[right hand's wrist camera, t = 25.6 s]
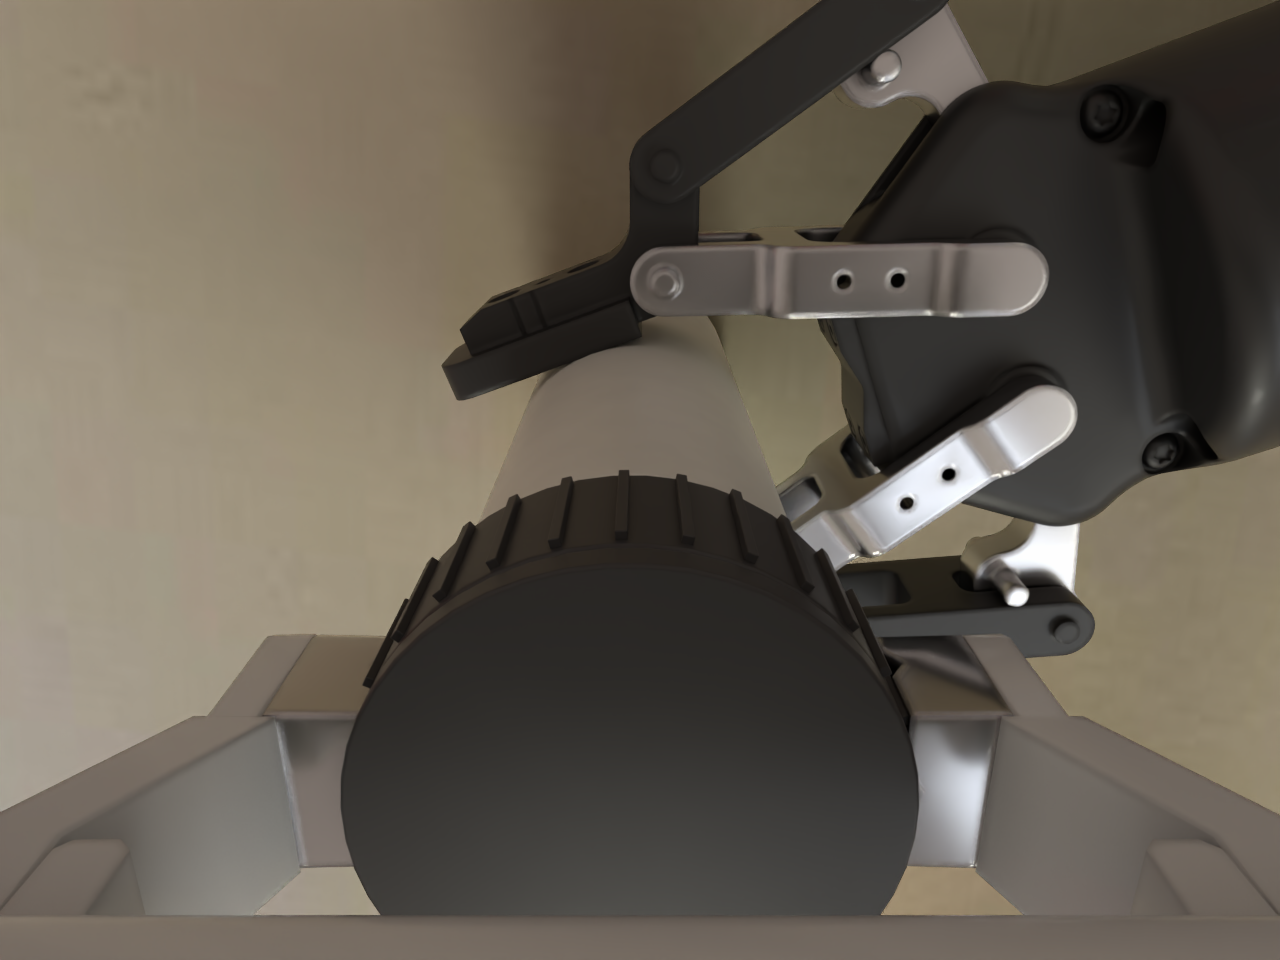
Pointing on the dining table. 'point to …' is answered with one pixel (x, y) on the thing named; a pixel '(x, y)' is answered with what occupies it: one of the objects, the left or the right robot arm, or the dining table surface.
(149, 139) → the dining table surface
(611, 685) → the lid
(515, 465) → the white bottle
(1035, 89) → the left robot arm
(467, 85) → the dining table surface
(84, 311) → the dining table surface
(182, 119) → the dining table surface
